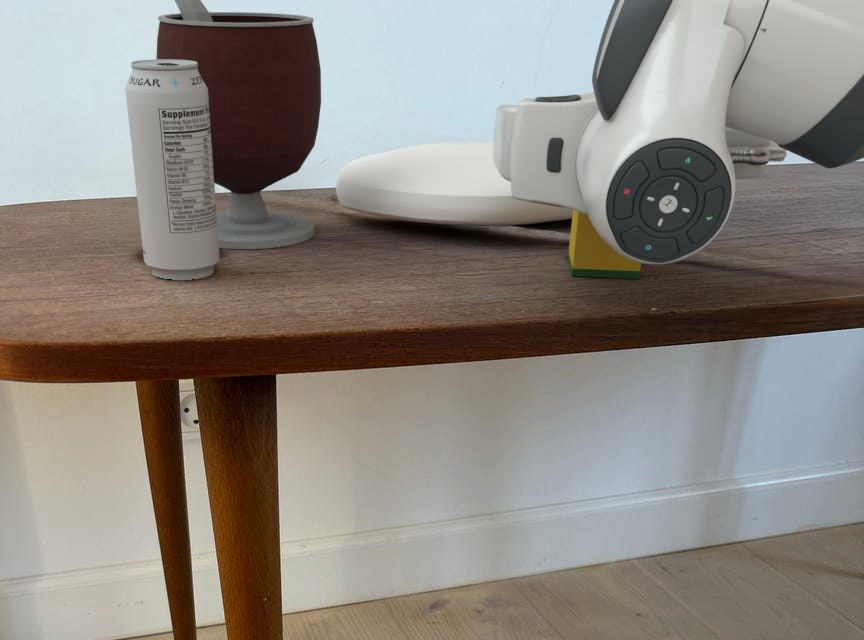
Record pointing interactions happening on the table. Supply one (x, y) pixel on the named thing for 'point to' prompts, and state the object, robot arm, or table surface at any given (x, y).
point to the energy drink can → (173, 167)
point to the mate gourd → (252, 109)
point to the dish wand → (596, 253)
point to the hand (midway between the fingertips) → (620, 124)
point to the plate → (439, 187)
